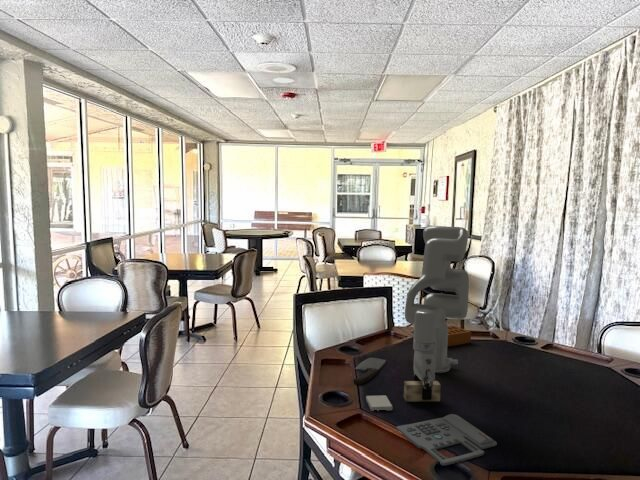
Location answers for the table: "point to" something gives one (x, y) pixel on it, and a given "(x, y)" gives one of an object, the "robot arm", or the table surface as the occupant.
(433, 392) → the tan wooden block
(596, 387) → the table surface
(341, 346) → the table surface
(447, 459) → the office telephone
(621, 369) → the table surface
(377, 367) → the cleaver
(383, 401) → the tile
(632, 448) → the table surface
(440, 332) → the robot arm
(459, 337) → the brick
